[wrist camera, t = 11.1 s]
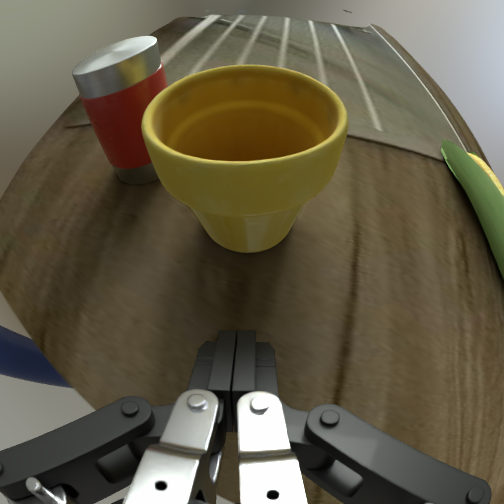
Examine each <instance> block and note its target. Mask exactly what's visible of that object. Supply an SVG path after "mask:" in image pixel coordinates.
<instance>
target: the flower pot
mask: <svg viewBox="0 0 504 504" xmlns="http://www.w3.org/2000/svg"><path fill="white" fill-rule="evenodd" d="M348 125H349V120H348V113H347V110H346V108H345V106H344V104H343V102H342V101H341V100H340V98H339V97H338V96H337V95H336V94H335V93H334V92H333V91H332V90H331V89H330V88H328V87H327V86H326V85H324V84H322V83H321V82H319V81H317V80H315V79H313V78H311V77H309V76H307V75H304V74H302V73H299V72H296V71H292V70H289V69H284V68H279V67H273V66H264V65H232V66H224V67H218V68H213V69H208V70H205V71H201V72H198V73H195V74H192V75H190V76H187V77H185V78H183V79H181V80H179V81H177V82H175V83H173V84H171V85H170V86H168V87H167V88H165V89H164V90H163V91H161V92H160V93H159V94H158V95H157V96H156V97H155V98H154V99H153V100H152V101H151V102H150V104H149V105H148V107H147V108H146V110H145V112H144V115H143V118H142V125H141V129H142V135H143V138H144V141H145V145H146V148H147V151H148V153H149V156H150V159H151V161H152V164H153V166H154V169H155V171H156V173H157V175H158V177H159V179H160V181H161V183H162V185H163V186H164V188H165V189H166V190H167V191H168V192H169V193H170V194H171V195H172V196H173V197H174V198H176V199H177V200H178V201H180V202H182V203H183V204H185V205H187V206H189V207H190V209H191V210H192V212H193V213H194V215H195V216H196V217H197V219H198V220H199V222H200V223H201V225H202V226H203V228H204V229H205V230H206V232H207V233H208V234H209V236H210V237H211V238H212V239H213V240H214V241H215V242H216V243H218V244H219V245H221V246H222V247H224V248H226V249H229V250H232V251H235V252H241V253H254V252H260V251H264V250H267V249H269V248H271V247H273V246H275V245H276V244H278V243H279V242H280V241H281V240H282V239H283V238H284V237H285V236H286V235H287V234H288V232H289V230H290V229H291V227H292V225H293V224H294V222H295V220H296V219H297V217H298V215H299V214H300V212H301V210H302V209H303V207H304V205H305V204H306V202H307V201H309V200H310V199H312V198H313V197H315V196H316V195H317V194H318V193H319V192H321V191H322V190H323V189H324V188H325V186H326V185H327V184H328V183H329V181H330V180H331V178H332V176H333V174H334V172H335V170H336V167H337V164H338V162H339V159H340V156H341V153H342V150H343V146H344V143H345V139H346V135H347V131H348Z"/></svg>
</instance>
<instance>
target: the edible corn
mask: <svg viewBox="0 0 504 504" xmlns="http://www.w3.org/2000/svg"><path fill="white" fill-rule="evenodd" d="M441 152H442V154H443V156H444V158H445V160H446V162H447V164H448V166H449V168H450V169H451V171H452V172H453V174H454V175H455V177H456V178H457V180H458V181H459V183H460V185H461V186H462V188H463V189H464V191H465V193H466V195H467V197H468V199H469V201H470V203H471V205H472V207H473V209H474V211H475V213H476V215H477V217H478V219H479V222H480V224H481V226H482V228H483V231H484V233H485V236H486V238H487V240H488V243H489V246H490V248H491V251H492V253H493V255H494V258H495V260H496V263H497V265H498V268H499V271H500V273H501V275H502V278H503V280H504V188H503V187H502V185H501V183H500V182H499V181H498V179H497V177H496V176H495V174H494V173H493V172H492V170H491V169H490V168H489V167H488V166H487V164H486V163H485V162H484V161H483V160H481V159H480V158H479V157H478V155H477V154H476V153H474V152H471V154H470V153H466V152H465V151H464V150H462V149H461V148H459V147H458V146H457V145H455V144H454V143H452V142H451V141H448V140H443V139H442V147H441Z"/></svg>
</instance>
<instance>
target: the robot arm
mask: <svg viewBox="0 0 504 504" xmlns="http://www.w3.org/2000/svg"><path fill="white" fill-rule="evenodd" d="M233 427H235V432H238V450H239V478H240V497H241V503H237V504H307V499H306V495H305V490H304V486H303V481H302V477H301V472H302V473H303V474H304V475H305V476H307V477H308V478H309V479H311V480H312V481H313V482H315V483H316V484H317V485H319V486H320V487H321V488H323V489H324V490H325V491H327V492H328V493H330V494H331V495H332V496H334V497H335V498H337V499H338V500H340V501H341V502H343V503H344V504H489V503H490V500H491V488H490V486H489V484H488V483H487V482H486V481H484V480H483V479H480V478H478V477H475V476H473V475H470V474H468V473H466V472H463V471H461V470H459V469H456V468H454V467H452V466H450V465H447V464H445V463H443V462H441V461H439V460H437V459H435V458H433V457H430V456H428V455H426V454H424V453H422V452H420V451H418V450H416V449H414V448H413V447H411V446H409V445H407V444H405V443H403V442H401V441H399V440H397V439H396V438H394V437H392V436H390V435H388V434H386V433H385V432H383V431H381V430H379V429H378V428H376V427H374V426H372V425H371V424H369V423H367V422H366V421H364V420H362V419H361V418H359V417H357V416H356V415H354V414H352V413H351V412H349V411H347V410H346V409H344V408H342V407H340V406H338V405H334V404H323V405H319V406H316V407H315V408H313V409H312V410H311V411H310V412H307V411H301V410H296V409H293V408H291V407H289V406H287V405H286V404H284V403H283V402H282V400H281V399H280V397H279V393H278V382H277V372H276V361H275V350H274V349H273V347H272V346H271V345H270V344H269V342H256V331H255V330H238V336H237V330H219V332H218V337H217V342H212V341H206V342H205V343H204V344H203V345H202V346H201V347H200V348H199V350H198V354H197V358H196V360H195V365H194V367H193V371H192V374H191V378H190V381H189V385H188V388H187V391H186V392H184V393H182V394H181V395H180V396H179V397H178V398H177V400H176V402H175V403H172V404H168V405H161V406H152V407H151V405H150V403H149V402H148V401H147V400H146V399H144V398H142V397H138V396H127V397H123V398H121V399H119V400H117V401H115V402H113V403H111V404H109V405H107V406H105V407H103V408H101V409H99V410H97V411H95V412H92V413H91V414H88V415H86V416H84V417H82V418H80V419H78V420H75V421H73V422H71V423H69V424H67V425H64V426H62V427H60V428H58V429H55V430H53V431H51V432H48V433H46V434H43V435H41V436H39V437H36V438H34V439H32V440H29V441H26V442H24V443H21V444H18V445H16V446H13V447H10V448H8V449H5V450H2V451H0V492H1V493H2V494H3V495H4V496H5V497H6V498H7V500H8V503H9V504H94V503H96V502H98V501H100V500H102V499H104V498H106V497H108V496H110V495H112V494H114V493H116V492H118V491H120V490H121V489H123V488H125V487H127V486H129V485H130V487H129V489H128V492H127V494H126V496H125V498H123V499H120V500H118V501H116V502H114V503H112V504H216V490H217V484H218V479H219V474H220V469H221V464H222V460H223V455H224V450H225V446H224V445H225V441H226V432H233ZM300 471H301V472H300Z"/></svg>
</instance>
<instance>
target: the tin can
mask: <svg viewBox="0 0 504 504" xmlns="http://www.w3.org/2000/svg"><path fill="white" fill-rule="evenodd" d="M72 75H73V78H74V80H75V83H76V85H77V88H78V90H79V93H80V94H79V96H80V99H81V101H82V104H83V106H84V108H85V111H86V113H87V115H88V118H89V120H90V122H91V124H92V126H93V129H94V131H95V133H96V135H97V137H98V139H99V142H100V144H101V146H102V148H103V150H104V152H105V154H106V156H107V158H108V160H109V162H110V163H111V164H112V166H113V168H114V170H115V172H116V174H117V176H118V177H119V179H120V180H122V181H123V182H125V183H128V184H133V185H139V184H146V183H149V182H153V181H155V180H157V179H159V177H158V175H157V173H156V171H155V169H154V166H153V164H152V161H151V159H150V156H149V153H148V151H147V148H146V145H145V141H144V138H143V135H142V129H141V125H142V118H143V115H144V112H145V110H146V108H147V107H148V105H149V104H150V102H151V101H152V100H153V99H154V98H155V97H156V96H157V95H158V94H159V93H160V92H161V91H163V90H164V89H165V88H167V87H168V86H167V81H166V76H165V72H164V67H163V62H162V61H161V59H160V54H159V48H158V43H157V39H156V38H155V37H152V36H143V37H136V38H131V39H127V40H123V41H120V42H118V43H114V44H112V45H109V46H107V47H105V48H103V49H100V50H99V51H97V52H95V53H93V54H91V55H90V56H88V57H86V58H85V59H84V60H82V61H81V62H80V63H78V64H77V66H75V67H74V69H73V70H72Z"/></svg>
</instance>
